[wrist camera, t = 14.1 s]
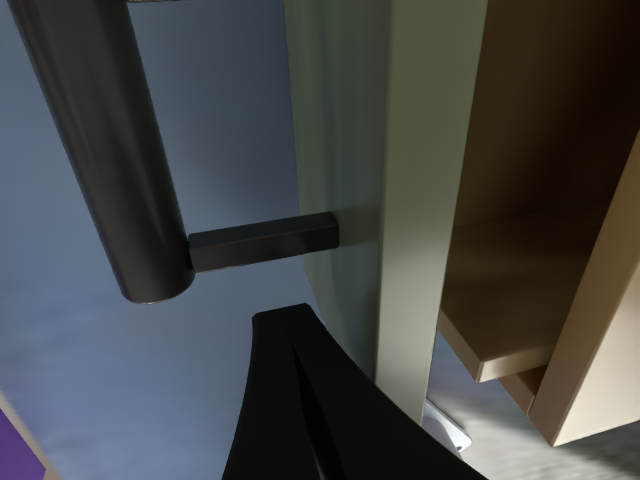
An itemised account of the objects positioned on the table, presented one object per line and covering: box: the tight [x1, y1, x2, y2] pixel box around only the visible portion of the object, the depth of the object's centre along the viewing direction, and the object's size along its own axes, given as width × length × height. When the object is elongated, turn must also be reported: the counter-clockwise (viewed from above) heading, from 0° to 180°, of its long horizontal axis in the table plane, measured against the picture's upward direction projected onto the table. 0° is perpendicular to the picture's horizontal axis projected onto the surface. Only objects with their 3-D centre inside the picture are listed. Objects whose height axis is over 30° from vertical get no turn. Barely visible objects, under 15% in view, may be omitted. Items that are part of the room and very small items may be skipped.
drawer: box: [6, 0, 640, 426], centre depth 9 cm, size 19×12×6 cm, turn 92°
